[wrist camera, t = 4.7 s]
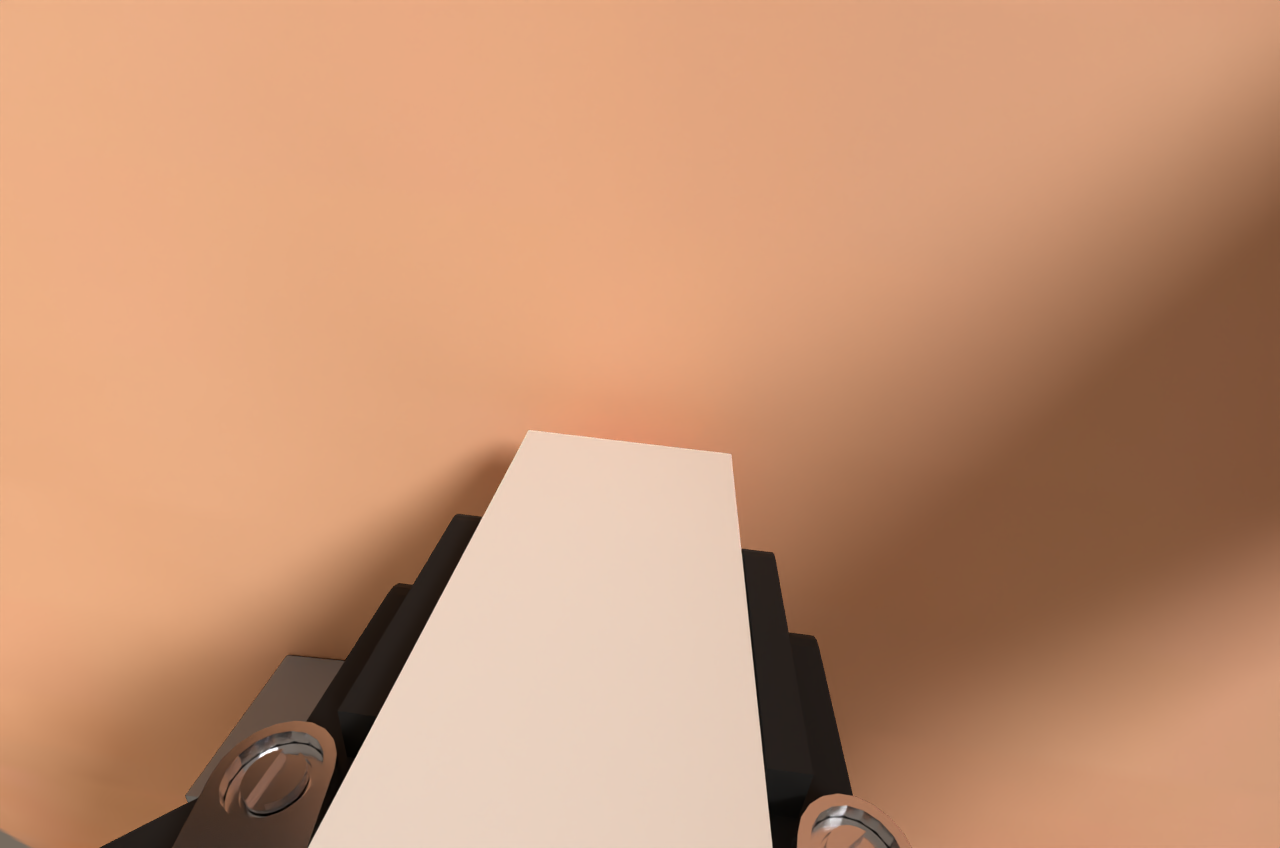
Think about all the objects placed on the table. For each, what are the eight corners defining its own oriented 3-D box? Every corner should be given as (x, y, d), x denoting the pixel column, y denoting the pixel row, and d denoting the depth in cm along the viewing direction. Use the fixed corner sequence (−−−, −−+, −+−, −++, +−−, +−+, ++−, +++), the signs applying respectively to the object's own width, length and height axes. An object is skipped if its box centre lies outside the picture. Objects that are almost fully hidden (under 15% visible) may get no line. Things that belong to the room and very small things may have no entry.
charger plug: (526, 427, 12) (36, 1332, 3) (734, 451, 12) (850, 1471, 3) (525, 586, 14) (220, 1433, 5) (705, 608, 14) (723, 1518, 5)
